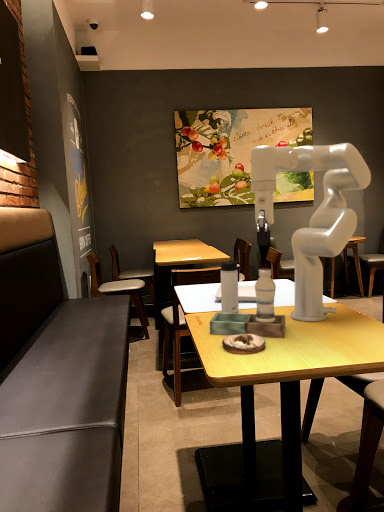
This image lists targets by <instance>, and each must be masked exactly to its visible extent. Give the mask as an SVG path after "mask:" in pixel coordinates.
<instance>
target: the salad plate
mask: <svg viewBox="0 0 384 512" xmlns="http://www.w3.org/2000/svg"><path fill="white" fill-rule="evenodd" d="M214 297H215V299H216V300H218V301H220V302H221V285H219V286H218V288H217V291H216V293H215V295H214ZM240 302H245V303H246V302H251V303H252V302H253V303H255V302H256V303H257V301H256V292H255V285H238V303H240Z"/></svg>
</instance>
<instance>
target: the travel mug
mask: <svg viewBox="0 0 384 512" xmlns="http://www.w3.org/2000/svg"><path fill="white" fill-rule="evenodd" d="M238 264H239V260H232V261H226V262H225V261H224V262H221V263H220V286H221V301H220V302H221V313H239V302H238V286H239V280H238V279H239V275H238V274H239V273H238V272H239V271H238Z"/></svg>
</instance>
